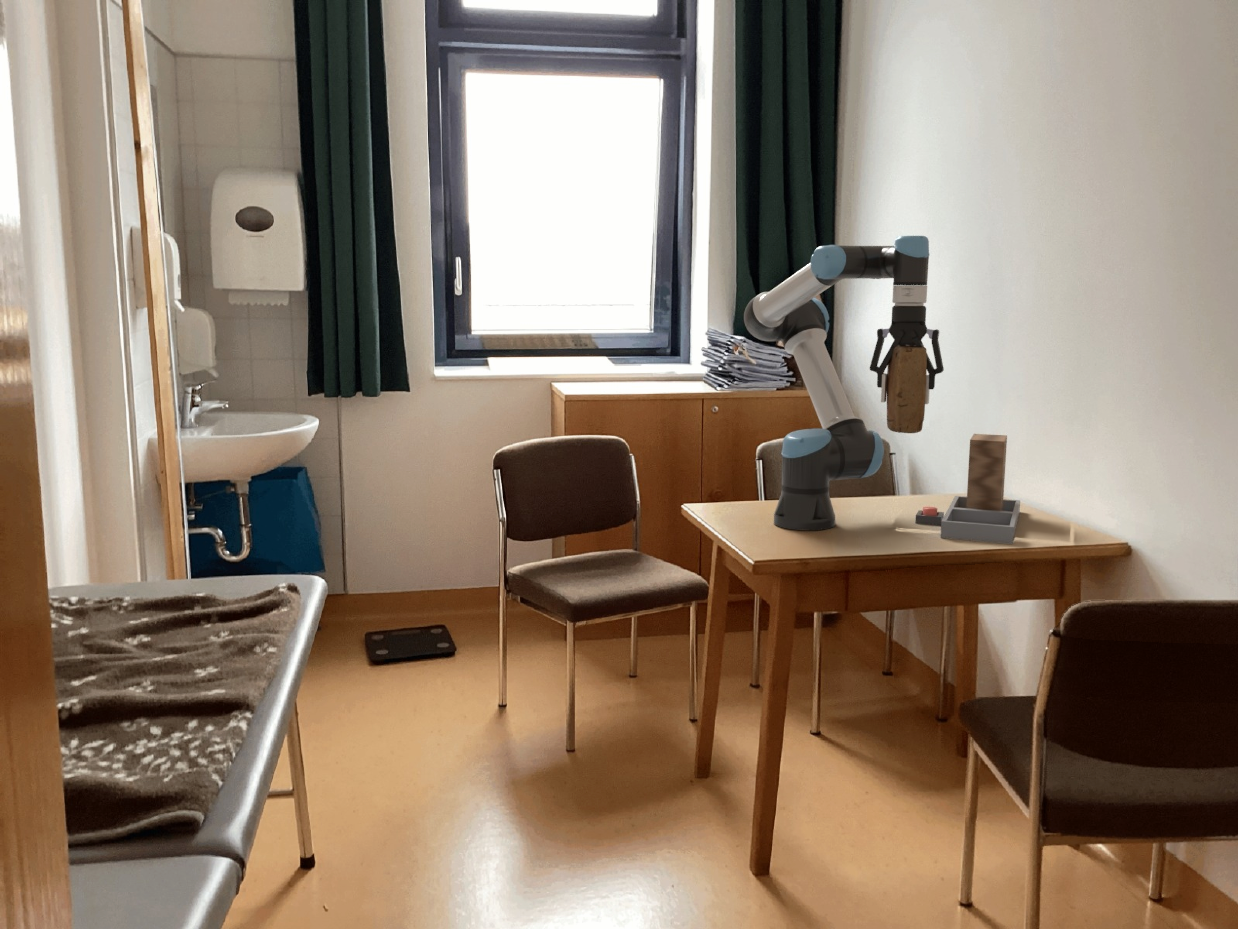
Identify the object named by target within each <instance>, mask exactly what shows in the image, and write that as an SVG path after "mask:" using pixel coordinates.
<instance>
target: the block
mask: <svg viewBox="0 0 1238 929" xmlns="http://www.w3.org/2000/svg"><path fill="white" fill-rule="evenodd" d="M927 354H928V352H927V348H926V347H925V346H924V347H916V346H909V345H904V346H900V345H898V346H896V347H895V348H894V350H893V355H892V357H891V359H890V361H889V364H888V365H887V368H886V369H887V371H886V374H887V393H886V426H887V429H889V431H891V432H894V433H900V434H901V433H903V434H916V433H920V432H922V430H923V427H924V426H923V425H924V420H925V411H926V404H925V398H926V377H927V375H928V374H927V373H928V371H927Z"/></svg>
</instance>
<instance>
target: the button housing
mask: <svg viewBox="0 0 1238 929" xmlns="http://www.w3.org/2000/svg"><path fill="white" fill-rule="evenodd" d="M944 515H945V512H944V511H937V516H931V515H923V509H922V510H918V511H917V513H915V524H920V525H921V524H922V525H930V526H931V525H932V526H941V521H942V519H943V517H944Z"/></svg>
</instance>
